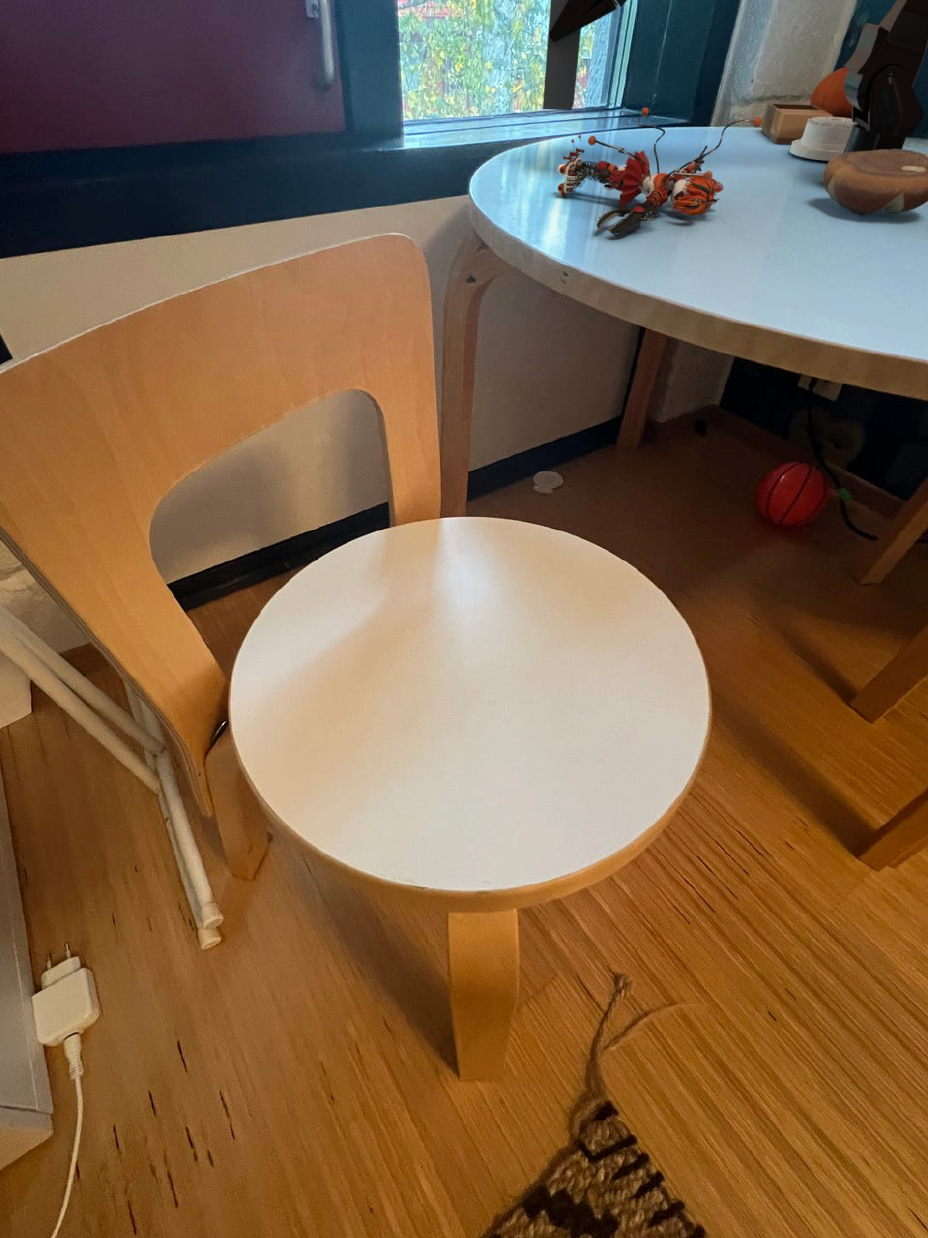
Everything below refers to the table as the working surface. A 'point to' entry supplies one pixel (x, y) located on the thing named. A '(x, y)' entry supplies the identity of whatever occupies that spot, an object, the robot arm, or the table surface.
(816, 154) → the mechanical component
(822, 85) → the fruit
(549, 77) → the grey tall block
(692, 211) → the striped bug figure
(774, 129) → the open wooden box
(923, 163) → the bread
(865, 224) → the table surface
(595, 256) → the table surface
